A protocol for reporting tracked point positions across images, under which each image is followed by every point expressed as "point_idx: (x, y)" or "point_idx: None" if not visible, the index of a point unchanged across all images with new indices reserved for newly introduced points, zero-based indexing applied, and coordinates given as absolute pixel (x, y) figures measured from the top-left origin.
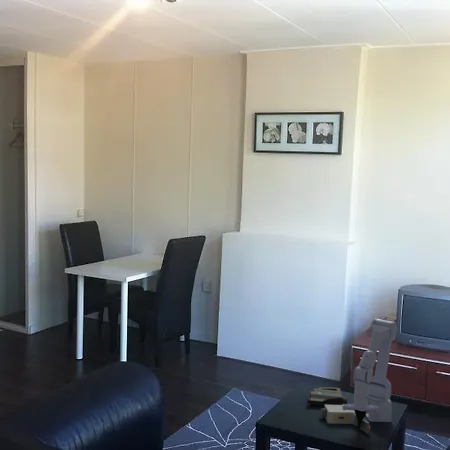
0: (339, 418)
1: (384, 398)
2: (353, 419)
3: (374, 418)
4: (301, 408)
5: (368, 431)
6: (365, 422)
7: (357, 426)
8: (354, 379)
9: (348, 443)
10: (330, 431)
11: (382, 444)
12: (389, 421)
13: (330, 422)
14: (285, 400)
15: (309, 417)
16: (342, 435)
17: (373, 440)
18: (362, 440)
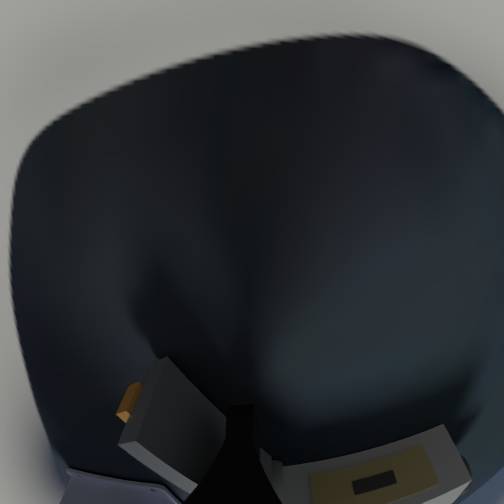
0: (386, 474)
1: None
2: (281, 491)
3: (140, 498)
4: (471, 474)
5: (148, 373)
6: (165, 456)
7: (258, 427)
8: None
9: (392, 77)
10: (484, 318)
11: (30, 154)
12: (73, 471)
13: (432, 432)
14: (482, 484)
15: (491, 431)
16: (424, 268)
17: (97, 221)
18: (217, 186)
